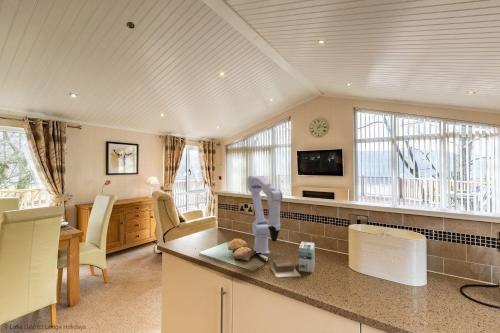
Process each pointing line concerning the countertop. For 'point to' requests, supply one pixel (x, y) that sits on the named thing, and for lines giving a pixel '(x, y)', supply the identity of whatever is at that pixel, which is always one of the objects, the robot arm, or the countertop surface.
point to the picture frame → (283, 265)
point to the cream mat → (285, 273)
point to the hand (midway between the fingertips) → (274, 241)
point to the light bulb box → (306, 256)
